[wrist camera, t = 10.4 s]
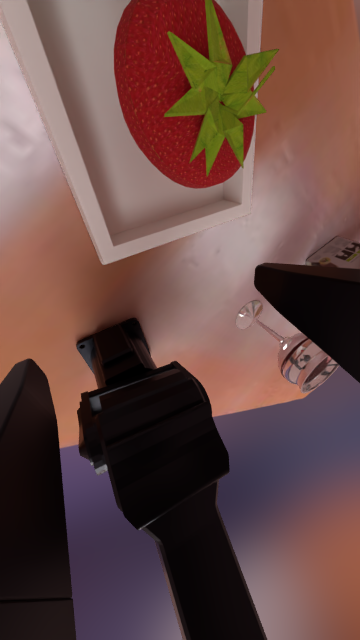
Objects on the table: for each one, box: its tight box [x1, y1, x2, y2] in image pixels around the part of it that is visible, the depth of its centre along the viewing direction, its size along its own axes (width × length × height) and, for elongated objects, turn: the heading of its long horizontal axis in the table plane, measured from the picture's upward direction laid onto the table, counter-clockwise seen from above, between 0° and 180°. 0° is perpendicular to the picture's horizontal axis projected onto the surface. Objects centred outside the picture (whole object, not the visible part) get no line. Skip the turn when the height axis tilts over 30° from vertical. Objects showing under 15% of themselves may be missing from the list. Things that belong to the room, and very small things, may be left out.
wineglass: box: [236, 301, 339, 393], centre depth 29 cm, size 7×7×12 cm
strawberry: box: [114, 0, 279, 189], centre depth 11 cm, size 6×8×10 cm
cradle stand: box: [0, 0, 263, 265], centre depth 12 cm, size 18×13×8 cm
